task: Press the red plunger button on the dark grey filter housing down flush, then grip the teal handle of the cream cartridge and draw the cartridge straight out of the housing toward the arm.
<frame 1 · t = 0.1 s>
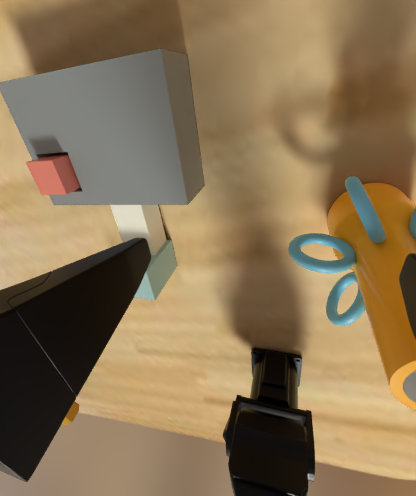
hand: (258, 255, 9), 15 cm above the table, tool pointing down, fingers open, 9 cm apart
housing: (126, 135, 24), on the table
orange vase with handles: (365, 214, 22), on the table
plunger: (66, 170, 23), point 4 cm above the table, slide at 0.0 cm
cartridge: (126, 204, 24), point 3 cm above the table, slide at 0.0 cm
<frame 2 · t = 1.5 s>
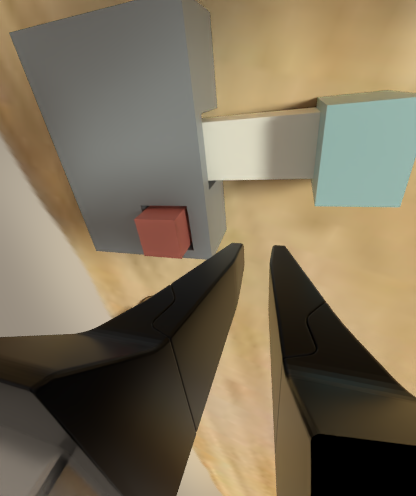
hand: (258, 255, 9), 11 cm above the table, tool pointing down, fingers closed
housing: (157, 146, 20), on the table
plunger: (172, 223, 18), point 4 cm above the table, slide at 0.0 cm
cartridge: (217, 151, 15), point 3 cm above the table, slide at 0.0 cm
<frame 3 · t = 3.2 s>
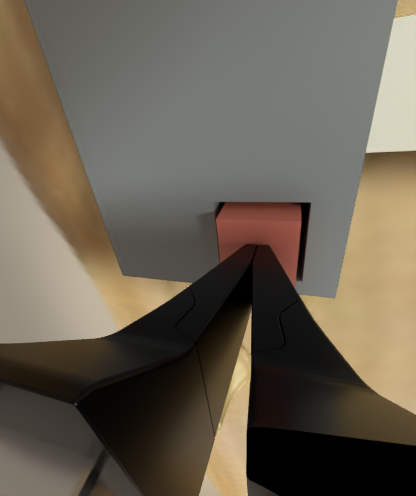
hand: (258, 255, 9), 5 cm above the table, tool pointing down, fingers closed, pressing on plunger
housing: (227, 104, 12), on the table
hand bell: (210, 356, 23), on the table
plunger: (263, 226, 11), point 3 cm above the table, slide at 0.7 cm, touching gripper
cartridge: (386, 92, 8), point 3 cm above the table, slide at 0.0 cm
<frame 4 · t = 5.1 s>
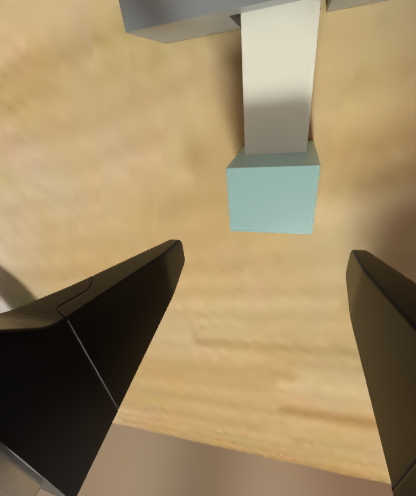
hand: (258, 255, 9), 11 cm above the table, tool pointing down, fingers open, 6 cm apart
cartridge: (278, 25, 12), point 3 cm above the table, slide at 0.0 cm
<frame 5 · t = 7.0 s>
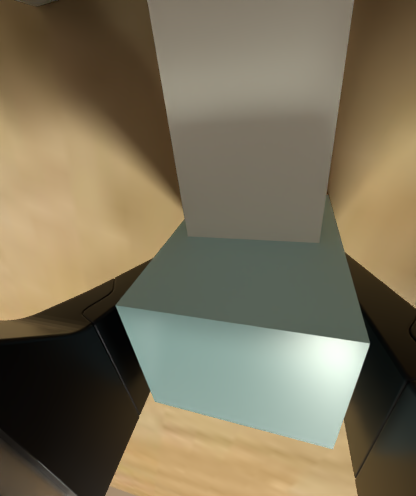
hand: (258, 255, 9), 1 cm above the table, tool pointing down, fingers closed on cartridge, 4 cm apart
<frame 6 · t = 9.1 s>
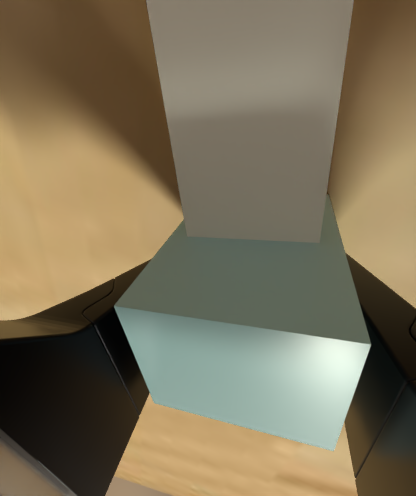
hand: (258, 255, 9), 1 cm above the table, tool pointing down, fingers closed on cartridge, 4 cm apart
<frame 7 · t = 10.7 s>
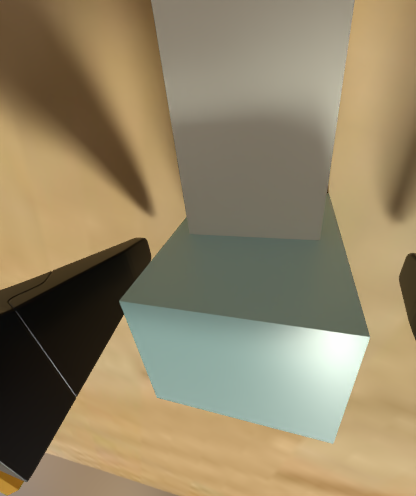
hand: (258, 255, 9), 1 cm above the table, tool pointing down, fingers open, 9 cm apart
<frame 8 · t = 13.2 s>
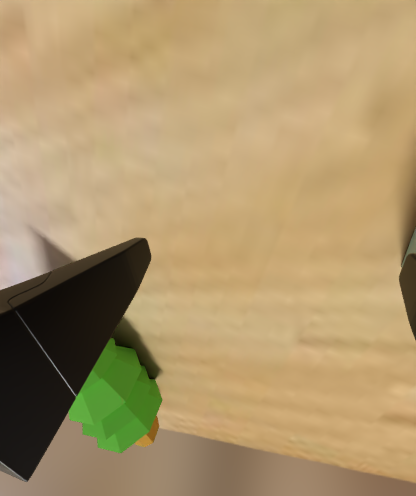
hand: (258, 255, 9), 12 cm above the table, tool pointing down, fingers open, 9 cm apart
decorative tree: (125, 345, 39), on the table
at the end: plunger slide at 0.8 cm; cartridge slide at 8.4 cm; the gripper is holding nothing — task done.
